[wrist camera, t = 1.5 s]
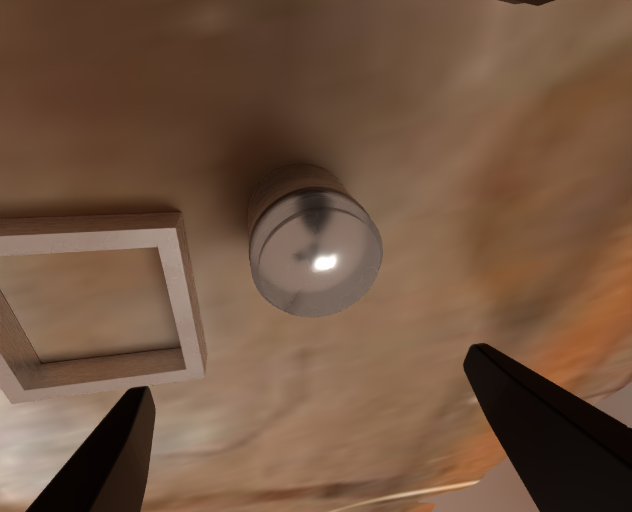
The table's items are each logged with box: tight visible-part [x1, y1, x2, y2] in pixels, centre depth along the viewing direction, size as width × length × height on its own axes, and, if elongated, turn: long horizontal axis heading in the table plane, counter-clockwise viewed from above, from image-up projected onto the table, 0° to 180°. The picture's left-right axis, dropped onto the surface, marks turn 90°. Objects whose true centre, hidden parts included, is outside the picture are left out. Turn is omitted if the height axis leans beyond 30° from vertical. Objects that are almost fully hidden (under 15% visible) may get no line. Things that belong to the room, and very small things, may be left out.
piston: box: [248, 164, 383, 317], centre depth 17 cm, size 6×6×6 cm
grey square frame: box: [0, 212, 207, 404], centre depth 18 cm, size 12×11×2 cm
